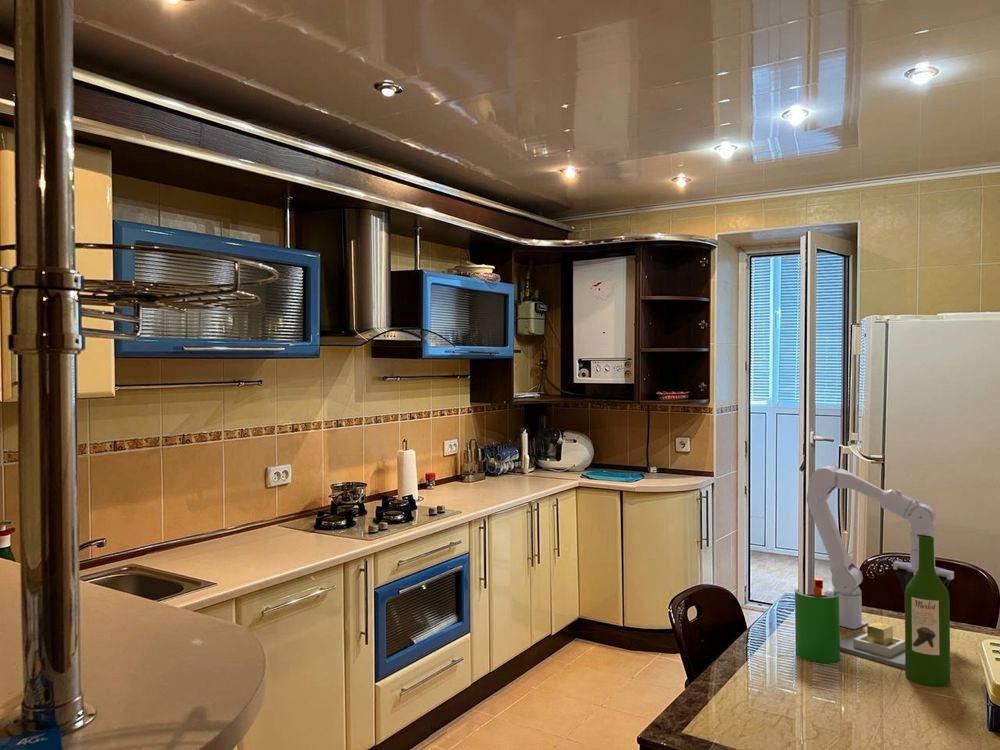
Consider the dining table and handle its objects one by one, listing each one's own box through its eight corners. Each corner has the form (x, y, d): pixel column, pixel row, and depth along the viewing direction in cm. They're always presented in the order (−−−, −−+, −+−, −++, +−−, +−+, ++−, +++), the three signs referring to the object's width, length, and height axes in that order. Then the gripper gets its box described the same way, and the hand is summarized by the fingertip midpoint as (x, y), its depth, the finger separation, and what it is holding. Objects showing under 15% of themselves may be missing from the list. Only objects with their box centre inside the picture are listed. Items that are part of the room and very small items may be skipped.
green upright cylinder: (833, 650, 191) (832, 571, 192) (846, 664, 183) (845, 581, 183) (792, 649, 192) (791, 570, 193) (802, 662, 184) (801, 580, 184)
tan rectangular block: (867, 647, 191) (867, 625, 191) (876, 643, 194) (876, 621, 194) (883, 652, 188) (883, 629, 188) (893, 647, 191) (892, 625, 191)
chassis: (831, 648, 193) (831, 636, 193) (858, 636, 202) (858, 625, 202) (904, 669, 179) (904, 656, 179) (930, 655, 188) (930, 643, 188)
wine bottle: (905, 682, 171) (904, 538, 171) (905, 669, 179) (904, 531, 179) (951, 689, 167) (950, 542, 167) (949, 675, 175) (947, 534, 175)
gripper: (887, 547, 205) (888, 597, 205) (945, 557, 193) (946, 610, 193) (899, 543, 209) (900, 593, 209) (957, 553, 198) (957, 605, 198)
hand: (923, 601), depth 201 cm, fingers open, 7 cm apart
